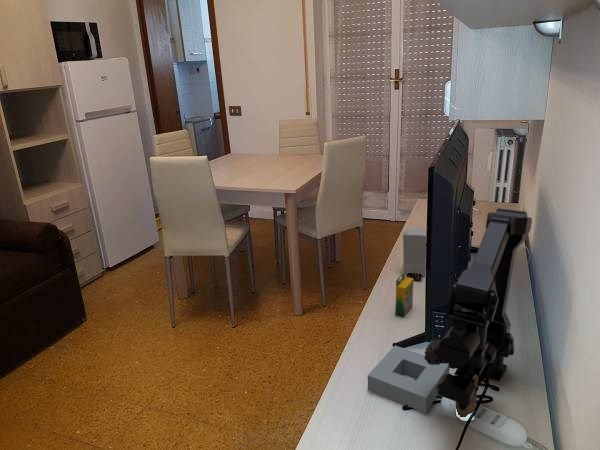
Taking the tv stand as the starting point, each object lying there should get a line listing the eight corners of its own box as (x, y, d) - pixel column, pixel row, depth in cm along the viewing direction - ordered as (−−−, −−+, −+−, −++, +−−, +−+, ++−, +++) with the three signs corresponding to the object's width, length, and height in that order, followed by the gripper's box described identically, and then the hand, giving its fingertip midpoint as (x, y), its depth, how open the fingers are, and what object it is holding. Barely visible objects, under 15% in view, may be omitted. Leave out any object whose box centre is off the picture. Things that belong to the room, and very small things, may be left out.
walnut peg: (458, 405, 101) (461, 367, 98) (477, 412, 98) (480, 373, 95) (452, 416, 98) (454, 377, 95) (471, 424, 96) (474, 384, 92)
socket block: (394, 358, 118) (394, 345, 116) (449, 377, 110) (449, 363, 108) (367, 389, 107) (367, 375, 106) (425, 413, 99) (426, 397, 98)
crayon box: (404, 318, 136) (405, 282, 132) (394, 315, 137) (395, 280, 134) (413, 307, 142) (413, 272, 138) (403, 304, 143) (404, 270, 139)
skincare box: (429, 269, 166) (430, 227, 161) (426, 278, 160) (428, 235, 155) (405, 267, 169) (406, 226, 164) (401, 275, 163) (402, 233, 158)
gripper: (447, 308, 104) (444, 367, 109) (412, 349, 90) (411, 415, 95) (499, 322, 97) (493, 383, 102) (471, 368, 83) (465, 437, 88)
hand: (465, 403), depth 97 cm, fingers closed on walnut peg, 4 cm apart
